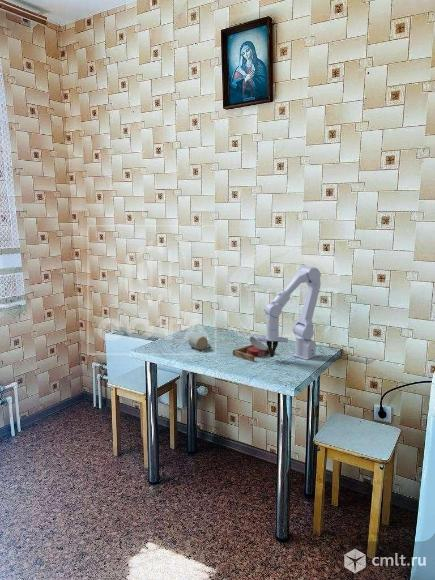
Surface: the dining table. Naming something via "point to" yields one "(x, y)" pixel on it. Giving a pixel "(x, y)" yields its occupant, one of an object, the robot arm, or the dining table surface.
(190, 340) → the ceramic mug
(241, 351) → the brown wooden u-shaped piece
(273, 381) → the dining table surface
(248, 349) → the canned food
